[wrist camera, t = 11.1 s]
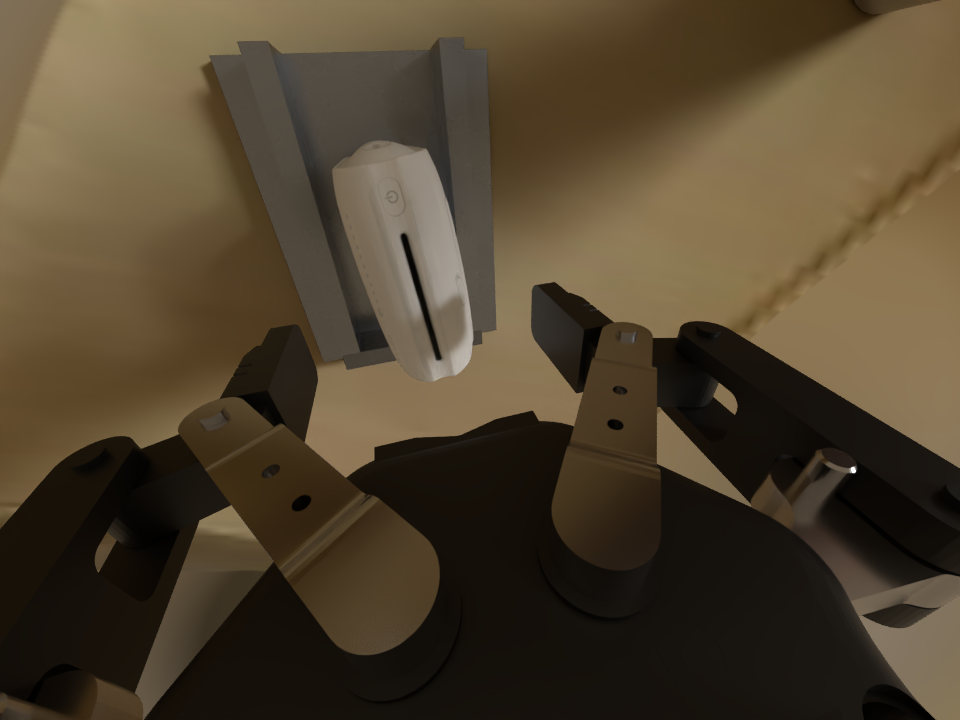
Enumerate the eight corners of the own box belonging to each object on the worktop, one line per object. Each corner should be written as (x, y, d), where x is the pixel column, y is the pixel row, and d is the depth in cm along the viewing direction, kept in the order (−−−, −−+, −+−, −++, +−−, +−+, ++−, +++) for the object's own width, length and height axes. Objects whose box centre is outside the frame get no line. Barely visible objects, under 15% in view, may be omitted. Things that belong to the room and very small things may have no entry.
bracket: (482, 51, 20) (504, 36, 17) (493, 325, 30) (508, 347, 27) (214, 58, 17) (182, 42, 14) (324, 356, 27) (319, 384, 24)
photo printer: (334, 146, 20) (303, 159, 10) (407, 131, 20) (447, 130, 10) (389, 305, 26) (405, 414, 16) (445, 291, 26) (494, 386, 16)
